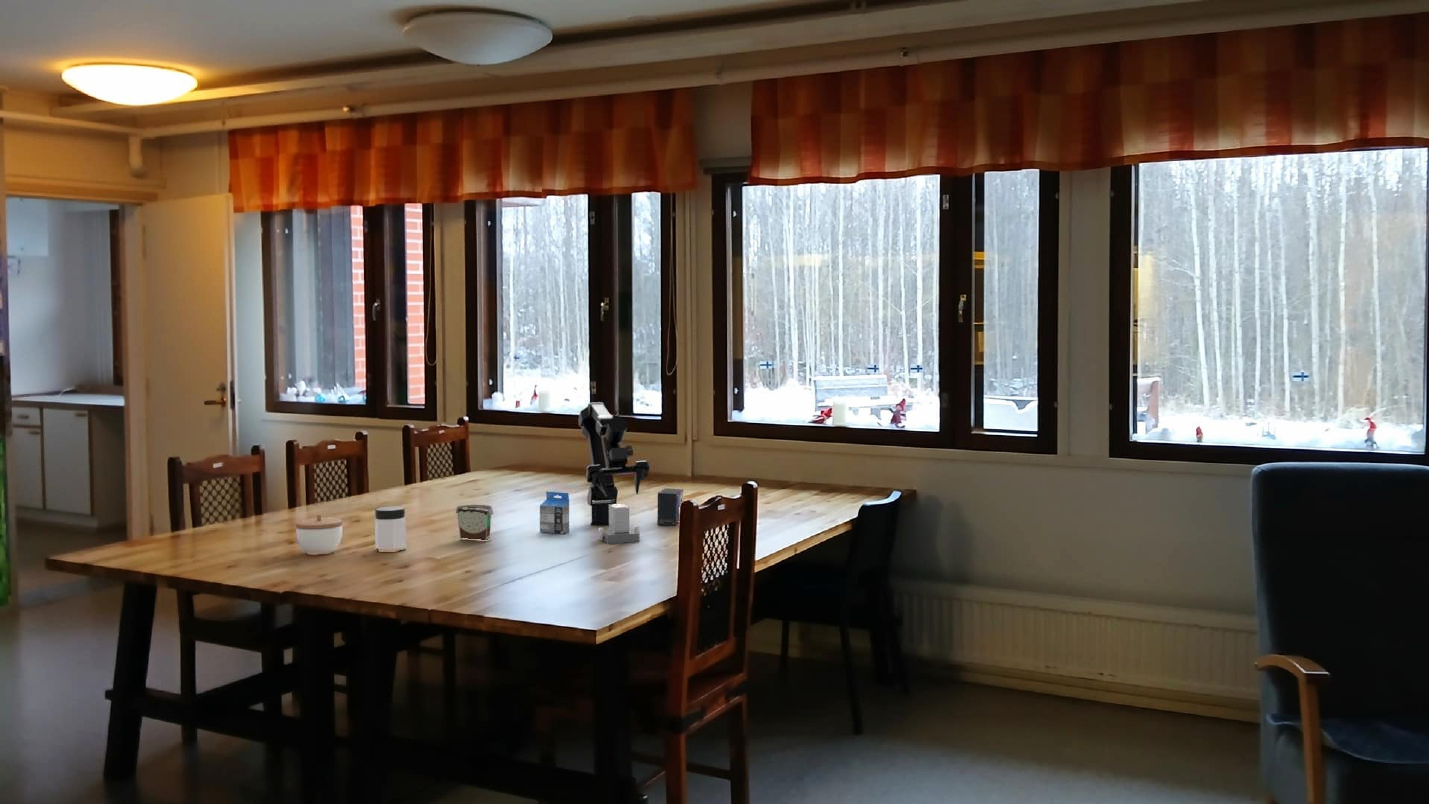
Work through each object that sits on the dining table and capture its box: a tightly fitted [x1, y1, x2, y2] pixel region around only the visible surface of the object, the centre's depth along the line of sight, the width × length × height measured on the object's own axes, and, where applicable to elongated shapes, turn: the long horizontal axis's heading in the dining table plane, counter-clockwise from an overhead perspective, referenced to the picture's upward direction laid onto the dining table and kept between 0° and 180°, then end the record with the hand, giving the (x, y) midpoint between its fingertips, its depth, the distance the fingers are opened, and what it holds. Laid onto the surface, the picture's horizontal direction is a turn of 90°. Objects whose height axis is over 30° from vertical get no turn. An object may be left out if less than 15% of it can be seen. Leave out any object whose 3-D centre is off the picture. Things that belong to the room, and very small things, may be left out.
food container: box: [455, 504, 494, 540], centre depth 357 cm, size 12×6×10 cm, turn 65°
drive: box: [608, 503, 630, 534], centre depth 356 cm, size 8×4×10 cm, turn 16°
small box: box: [656, 487, 684, 526], centre depth 383 cm, size 11×6×10 cm, turn 168°
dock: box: [597, 525, 641, 545], centre depth 356 cm, size 11×13×4 cm
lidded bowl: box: [295, 513, 344, 553], centre depth 338 cm, size 13×13×11 cm
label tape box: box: [539, 491, 570, 535], centre depth 368 cm, size 9×4×12 cm, turn 62°
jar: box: [374, 505, 407, 549], centre depth 342 cm, size 9×8×12 cm
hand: (622, 494), depth 355 cm, fingers open, 9 cm apart
